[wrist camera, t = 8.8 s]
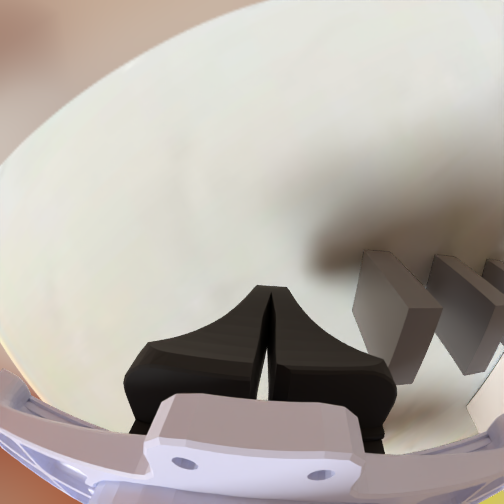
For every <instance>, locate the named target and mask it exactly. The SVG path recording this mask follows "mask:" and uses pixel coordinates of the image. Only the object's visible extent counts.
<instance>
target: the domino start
mask: <svg viewBox="0 0 504 504" xmlns="http://www.w3.org/2000/svg"><path fill="white" fill-rule="evenodd" d="M442 310H443V307H442V306H441V305H440V304H439V303H438V301H437V300H436V299H435V298H434V297H433V296H432V295H431V294H430V293H429V292H428V290H427V289H426V288H425V287H424V286H423V285H422V284H421V283H420V282H419V281H418V280H417V279H416V278H415V277H414V276H413V275H412V274H411V273H410V271H409V270H408V269H407V268H406V267H405V266H404V265H403V264H402V263H401V262H400V261H399V260H398V259H397V258H396V257H395V256H394V255H393V254H392V253H391V252H388V251H375V250H364V252H363V258H362V264H361V269H360V275H359V280H358V285H357V290H356V295H355V300H354V304H353V309H352V312H353V315H354V317H355V320H356V322H357V325H358V327H359V330H360V332H361V335H362V338H363V340H364V343H365V345H366V348H367V351H368V354H370V355H373V356H376V357H379V358H382V359H384V361H385V363H386V364H387V366H388V368H389V370H390V372H391V374H392V377H393V379H394V382H395V384H396V385H404V384H412V383H413V381H414V379H415V376H416V374H417V372H418V370H419V368H420V366H421V364H422V361H423V359H424V357H425V355H426V352H427V350H428V347H429V345H430V343H431V340H432V338H433V335H434V333H435V330H436V327H437V325H438V322H439V319H440V316H441V313H442Z"/></svg>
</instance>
